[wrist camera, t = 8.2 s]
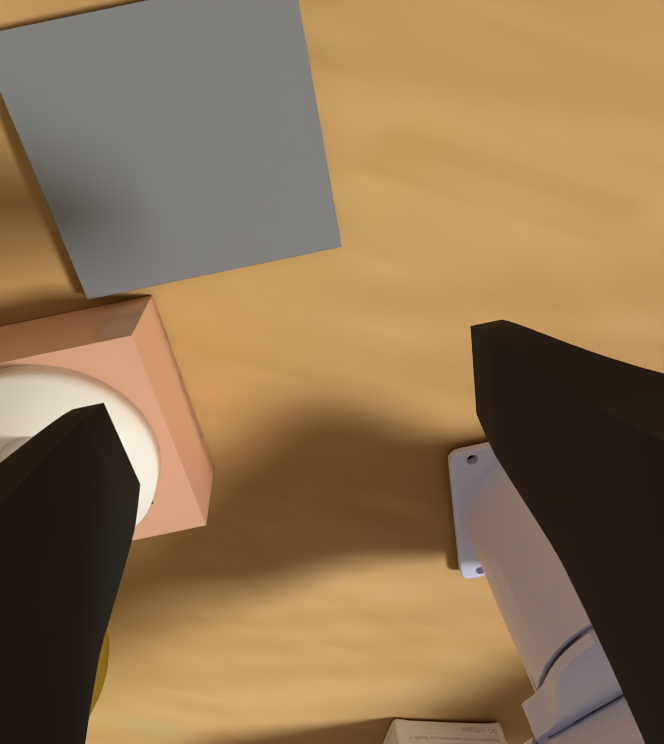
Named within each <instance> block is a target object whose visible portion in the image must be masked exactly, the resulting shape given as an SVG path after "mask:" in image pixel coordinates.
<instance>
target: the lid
mask: <svg viewBox="0 0 664 744" xmlns="http://www.w3.org/2000/svg"><path fill="white" fill-rule="evenodd" d="M100 403H104V404H105V406H106V409H107V411H108V413H109V415H110V418H111V420H112V422H113V424H114V427H115V429H116V431H117V433H118V435H119V438H120V440H121V442H122V444H123V447H124V449H125V451H126V453H127V455H128V458H129V460H130V462H131V464H132V467H133V469H134V471H135V473H136V475H137V478H138V480H139V482H140V493H139V502H138V511H137V518H136V525H137V524H138V523H139V522H140V521H141V520H142V519H143V517H144V516H145V514H146V513H147V511H148V509H149V507H150V505H151V503H152V500H153V496H154V493H155V489H156V485H157V482H158V478H159V474H160V465H161V460H160V450H159V445H158V441H157V439H156V436H155V434H154V431H153V429H152V428H151V426H150V424H149V422H148V421H147V419H146V418H145V417H144V415H143V414H142V413H141V411H140V410H139V409H138V408H137V407H136V406H135V405H134V404H133V403H132V402H131V401H130V400H129V399H128V398H127V397H125V396H124V395H123V394H122V393H120V392H119V391H118V390H116V389H114V388H113V387H111V386H110V385H108V384H107V383H105V382H103V381H100V380H98V379H96V378H94V377H92V376H90V375H87V374H84V373H81V372H79V371H75V370H71V369H67V368H63V367H57V366H50V365H34V364H30V365H16V366H11V367H5V368H1V369H0V462H2V461H3V460H4V459H5V458H7V457H8V456H9V455H10V454H12V453H13V452H14V451H16V450H17V449H18V448H19V447H21V446H22V445H23V444H24V443H26V442H27V441H28V440H30V439H31V438H32V437H33V436H35V435H36V434H37V433H39V432H40V431H41V430H43V429H44V428H45V427H47V426H48V425H49V424H51V423H52V422H53V421H55V420H56V419H58V418H59V417H61V416H62V415H64V414H65V413H67V412H69V411H70V410H72V409H76V408H80V407H85V406H90V405H95V404H100ZM136 525H135V526H136Z"/></svg>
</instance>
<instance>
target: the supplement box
mask: <svg viewBox="0 0 664 744" xmlns="http://www.w3.org/2000/svg"><path fill="white" fill-rule="evenodd" d="M383 744H507V742H506V739H505V736H504V733H503V730H502V727H501V725H500V723H498V722H495V723H486V724H482V723H449V722H430V721H409V720H404V719H395V720H393V722H392V724H391V726H390V728H389V730H388V732H387V735H386V737H385V739H384V741H383Z"/></svg>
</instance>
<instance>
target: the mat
mask: <svg viewBox="0 0 664 744" xmlns="http://www.w3.org/2000/svg"><path fill="white" fill-rule="evenodd" d="M0 93H1V95H2V97H3V100H4V102H5V105H6V107H7V109H8V112H9V114H10V116H11V119H12V121H13V124H14V126H15V128H16V131H17V133H18V135H19V138H20V140H21V142H22V145H23V147H24V150H25V152H26V154H27V157H28V159H29V161H30V164H31V166H32V169H33V171H34V173H35V176H36V178H37V180H38V183H39V185H40V188H41V190H42V192H43V195H44V197H45V199H46V202H47V204H48V207H49V209H50V211H51V214H52V216H53V218H54V221H55V223H56V226H57V228H58V230H59V233H60V235H61V237H62V240H63V242H64V245H65V247H66V249H67V252H68V254H69V256H70V259H71V261H72V264H73V266H74V268H75V271H76V273H77V275H78V278H79V280H80V283H81V285H82V287H83V290H84V292H85V294H86V297H87V299H93V298H98V297H103V296H108V295H112V294H117V293H122V292H127V291H132V290H136V289H141V288H146V287H151V286H156V285H160V284H165V283H170V282H175V281H180V280H184V279H189V278H194V277H199V276H204V275H208V274H213V273H218V272H223V271H228V270H232V269H237V268H242V267H247V266H252V265H256V264H261V263H266V262H271V261H276V260H280V259H285V258H290V257H295V256H300V255H304V254H309V253H314V252H319V251H324V250H328V249H333V248H338V247H342V246H341V240H340V234H339V229H338V223H337V217H336V212H335V206H334V200H333V195H332V189H331V183H330V178H329V172H328V166H327V161H326V155H325V149H324V144H323V138H322V132H321V127H320V121H319V115H318V110H317V104H316V98H315V93H314V87H313V81H312V76H311V70H310V65H309V59H308V53H307V48H306V42H305V36H304V31H303V25H302V19H301V14H300V8H299V2H298V0H147V1H142V2H137V3H132V4H127V5H123V6H118V7H113V8H108V9H103V10H99V11H94V12H89V13H84V14H79V15H75V16H70V17H65V18H60V19H55V20H51V21H46V22H41V23H36V24H31V25H27V26H22V27H17V28H12V29H7V30H3V31H0Z"/></svg>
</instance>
